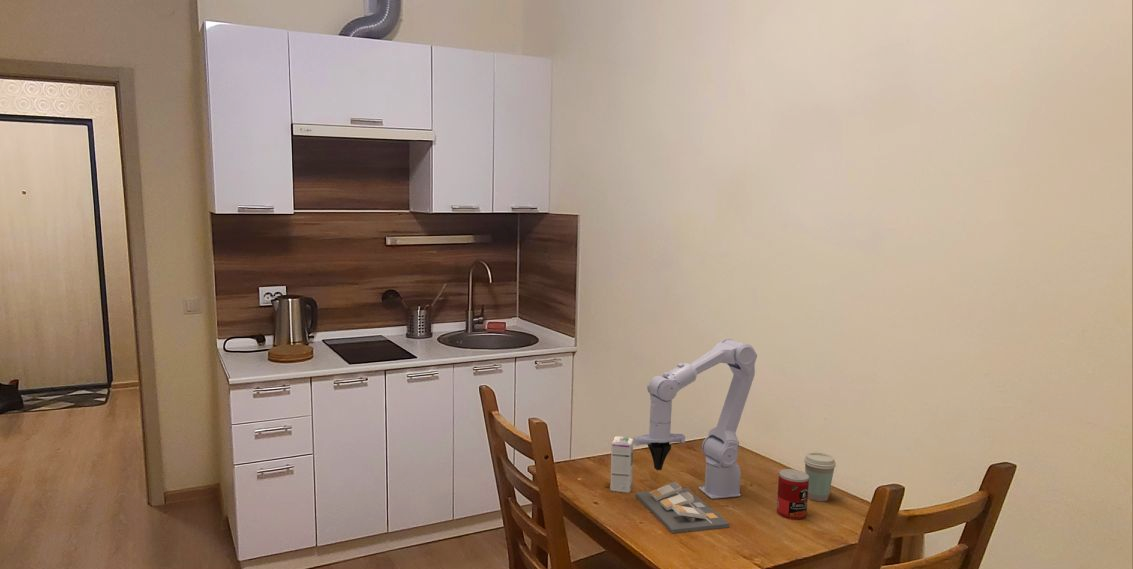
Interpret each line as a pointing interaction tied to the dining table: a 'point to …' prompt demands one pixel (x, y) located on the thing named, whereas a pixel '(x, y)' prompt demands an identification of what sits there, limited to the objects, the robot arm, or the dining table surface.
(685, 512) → the rocker
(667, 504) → the rocker
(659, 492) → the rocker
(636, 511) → the dining table surface
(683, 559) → the dining table surface
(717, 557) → the dining table surface
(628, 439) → the syrup box
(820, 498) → the coffee cup
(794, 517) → the canned food
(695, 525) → the switch unit
